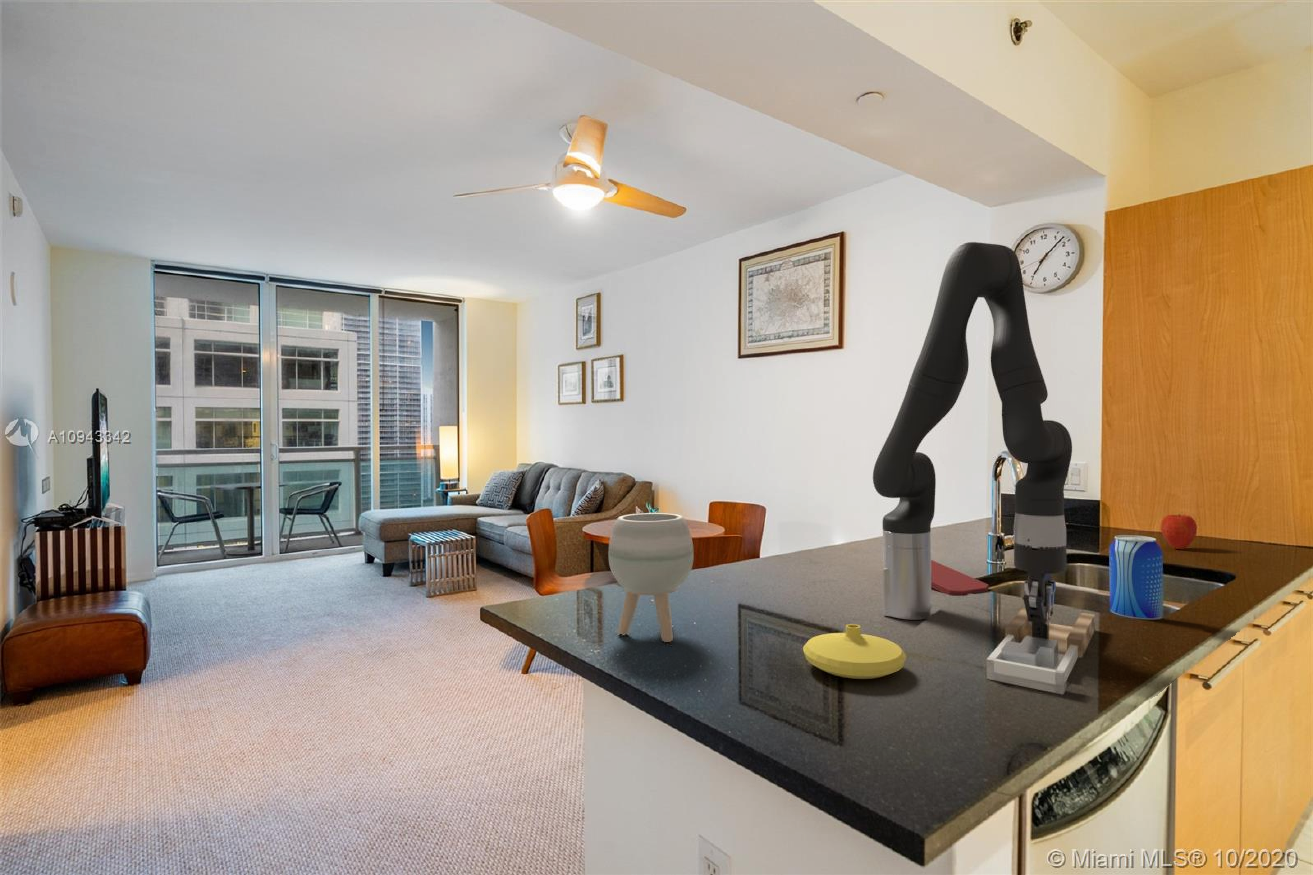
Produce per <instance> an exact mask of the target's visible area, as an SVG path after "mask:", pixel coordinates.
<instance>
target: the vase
mask: <svg viewBox="0 0 1313 875" xmlns="http://www.w3.org/2000/svg"><path fill="white" fill-rule="evenodd" d="M861 631H862V630H861V625H859V624H855V623H849V624H848V623H847V624H845V632H831V633H823V634H820V635H816V636H813V637H812V638H809V639H808V641H807V642H806V643H805V644H804V646H803V647H802V650H803V654H804V656H805V659H806V661H808V662H809V664H811V665H812V666H815V667H816V668H818V669H819V670H821V671H823V672H826V673H828V674H830V675H832V676H837V677H841V678H845V679H847V678H848V679H852V680H853V679H854V680H856V679H857V680H868V679H870V680H871V679H877V678H882V677H885V676H888V675H890V674H893V673H895V672H899V671H900V670H902V668H904V664H905V662H906V658H907V655H906V653H905V652H904V650H903V649H902V648H901V646H900V645H898V644H897V643H895V642H893V641H891V640H889V639H886V638H884V637H883V638H882V637H879V636H875V635H871V634H865V633H861Z"/></svg>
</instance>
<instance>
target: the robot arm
mask: <svg viewBox="0 0 1313 875" xmlns="http://www.w3.org/2000/svg"><path fill="white" fill-rule="evenodd" d="M978 298H982V299H984V300H985V302H986V305H987V307H988V309H989V311H990V314H991V317H992V322H993V324H992V325H993V337H992V343H991V349H990V350H991V351H990V369H991V372H992V376H993V380H994V384H995V386H996V390H997V392H998V395H999V399H1000V401H1001V422H1002V423H1001V424H1002V437H1003V442H1004V444H1005V447H1006V449H1007V450H1008V452H1009V453H1010V455H1011V456H1012V457H1013V459H1015V460H1016V461H1018V462H1019V463H1022V464H1023V463H1024V464H1027V465H1026V466H1027V468H1026V473H1025V475H1024V476H1022V478H1020V479H1019V480H1017V481H1016V483H1015V486H1014V509H1015V510H1014V512H1015V514H1014V522H1013V564H1014V565H1013V566H1014V567H1015V569H1017V570H1020V571H1021V572H1022V571H1025V572H1027V573H1028V575H1027V580H1024V581H1023V582H1024V585H1023V586H1024V589H1023V590H1024V592H1025V594H1024V595H1023V597H1022V598H1023V602H1024V607H1025V608H1026V613H1027V619H1028V621H1030V622H1031V623H1032V637H1036V638H1042V639H1049V623H1050V624H1051V621H1052V617H1053V614H1054V606H1055V593H1056V589H1057V584H1056V580H1053V579H1052V578H1053V576H1052V575H1055V574H1062V573H1064V572H1066V571H1067V568H1068V567H1067V565H1068V564H1067V560H1068V559H1067V525H1066V521H1065V494H1064V493H1065V492H1064V490H1065V489H1064V488H1065V484H1066V482H1067V478H1068V474H1069V468H1070V465H1071V459H1072V455H1073V454H1072V453H1073V442H1072V438H1071V434H1070V432H1069V430H1068V428H1066V426H1064V425H1063V423H1061V422H1058V421H1055V420H1050V419H1044V418H1043V413H1042V412H1043V411H1042V404H1044V402H1046V400H1047V399H1048V397H1049V396H1048V395H1049V394H1048V388H1047V385H1046V382H1045V378H1044V375H1043V372H1042V369H1041V366H1040V364H1039V360H1038V357H1037V354H1036V351H1035V347H1034V344H1033V340H1032V336H1031V330H1030V323H1029V318H1028V310H1027V304H1026V298H1025V289H1024V281H1023V275H1022V269H1021V263H1020V261H1019V257H1018V256H1017V254H1016V252H1015V251H1014V250H1013V249H1012V248H1010V247H1008V246H1007V245H1002V244H996V243H987V242H979V241H969V242H964V243H963V244H961V245H959V246H957V248H956V249H955V250H954V251H953V252H952V253H951V255H950V256H949V258H948V260H947V263H946V264H945V268H944V271H943V274H942V278H941V281H940V285H939V289H938V294H937V298H936V302H935V306H934V310H933V313H932V314H933V315H932V317H931V320H930V324H929V326H928V330H927V332H926V335H925V338H924V342H923V344H922V348H921V350H920V353H919V356H918V358H917V361H916V363H915V366H914V368H913V370H912V373H911V375H910V379H909V382H908V385H907V388H906V390H905V391H906V392H905V395H904V397H903V399H902V402H901V405H900V407H899V411H898V412H897V416H896V418H895V420H894V423H893V425H892V428H891V430H890V431H889V434H888V435H887V437H886V440H885V442H884V444H883V446H882V447H881V449H880V451H879V454H878V455H877V456H878V457H877V459H876V460H875V463H874V467H873V472H872V480H873V481H872V483H873V487H874V489H875V490H876V492H877V493H878V494H879V495H880V496H882V497H884V498H889V499H899V502H898V504H897V506H896V507H895V508H894V509H892V511H890V512H887V514H885V515H884V516H883V517H882V559H883V560H882V564H883V565H882V566H883V567H882V577H883V579H882V582H883V583H882V584H883V585H882V586H883V589H882V590H883V593H882V594H883V616H886V617H892V618H895V619H896V618H897V619H902V620H911V621H913V620H915V621H917V620H918V621H919V620H920V621H921V620H926V619H929V618H931V617H932V615H933V604H932V602H933V600H932V599H933V598H932V597H933V596H932V595H933V594H932V590H933V589H932V587H931V560H932V542H931V541H932V539H931V538H932V534H931V526H932V522H933V519H934V517H935V510H936V509H935V508H936V507H935V505H936V488H937V487H936V484H937V483H936V482H937V481H936V477H937V476H936V471H935V467H934V466H935V465H934V464H933V462H932V460H931V458H930V457H929V456H928V455H927V454H926V453H923V452H919V451H918V452H917V450H918V449H919V447H920V445H921V443H922V441H923V440H924V439H925V437H926V436H927V435H928V434H929V433H930V432H931V431H932V430H933V429H934V428H935V427H936V426H937V425H938V424H939V423H940V422H941V421H942V420H943V419H944V418H945V417H946V416H947V415H948V414H949V412H951V410H952V409H953V408H954V406H955V405H956V403H957V400H958V398H959V396H960V394H961V392H962V390H963V387H964V385H965V382H966V379H967V377H968V373H969V366H970V364H969V362H970V360H969V352H968V343H967V328H968V323H969V320H970V317H971V314H972V312H973V309H974V307H975V304H976V303H977V300H978Z"/></svg>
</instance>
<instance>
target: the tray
mask: <svg viewBox="0 0 1313 875" xmlns="http://www.w3.org/2000/svg"><path fill="white" fill-rule="evenodd" d="M1008 641H1011V642H1015V635H1010V634H1008V635H1007V636H1006V637H1005V636H1004V638H1003V639H1002V641H1001V642H1000V643H999V644H998V645H997V646H996V648H995V649H994V650H993V651H992V652H991V653H990V655H988V657H987V658H986V679H987V680H992V681H996V682H1000V683H1005V684H1011V685H1015V686H1020V687H1025V688H1030V689H1033V690H1034V689H1035V690H1040V691H1042V692H1043V691H1044V692H1049V693H1054V694H1058V695H1059V694H1060V695H1064V694H1065V692H1066V690H1067V688H1068V686H1069V685H1070V682H1069V681H1067V680H1068V679H1069V676H1070V674H1071V672H1072V671H1073V668H1074V666H1075V664H1076V662H1077V660H1078V658H1079V657H1078V646H1077V645H1071V644H1070V646H1069V648H1068V650H1067V652H1066V653H1065V655H1064V654H1058V662H1057V663H1056V665H1055V667H1054V668H1050V667H1044V666H1040V667H1037V666H1032V665H1026V664H1021V663H1016V662H1010V661H1005V660H1002V648H1003V646H1004V645H1005V644H1006V643H1007V642H1008Z"/></svg>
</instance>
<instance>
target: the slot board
mask: <svg viewBox="0 0 1313 875" xmlns="http://www.w3.org/2000/svg"><path fill="white" fill-rule="evenodd" d="M1095 617H1096V615H1095V614H1094V613H1093V614H1090V613H1085V612H1081V613H1080V614H1079V616H1078V618H1077V620H1076V621H1075V623H1074V625H1073V626H1068V625H1062V624H1055V623H1051V622H1050V623H1049V640H1055V641H1058V654H1064V655H1065V653H1066V652H1067V650H1068V648H1069V646H1070V644H1071V645H1077V646H1078V658H1080V659H1082V658H1083V656H1084V654H1085V652H1086V650H1087V648H1088V646H1089V644H1090V642H1091V639H1092V638H1093V635H1094V633H1095V631H1096V626H1095V625H1096V623H1095V622H1096V621H1095V620H1096V618H1095ZM1008 634H1010V635H1015V642H1017V643H1021V642H1022V640H1023V639H1024V638H1025V637H1026V636H1030V637H1032V623H1031V622H1030V621H1028V619H1027V613H1026V608H1025V606H1023V608H1022V609H1021V610H1020V611H1019V612H1018V613H1017V614H1016V615H1015V616H1014V617H1013V619H1011V621H1009V623H1008V624H1007V625H1006V626H1005V627H1004V638H1005V637H1006V636H1007V635H1008Z"/></svg>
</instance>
